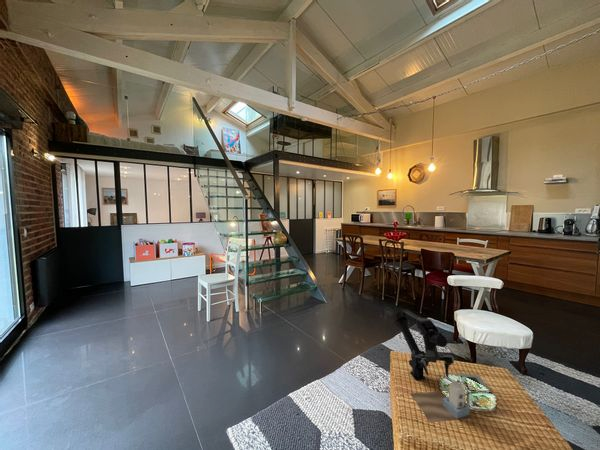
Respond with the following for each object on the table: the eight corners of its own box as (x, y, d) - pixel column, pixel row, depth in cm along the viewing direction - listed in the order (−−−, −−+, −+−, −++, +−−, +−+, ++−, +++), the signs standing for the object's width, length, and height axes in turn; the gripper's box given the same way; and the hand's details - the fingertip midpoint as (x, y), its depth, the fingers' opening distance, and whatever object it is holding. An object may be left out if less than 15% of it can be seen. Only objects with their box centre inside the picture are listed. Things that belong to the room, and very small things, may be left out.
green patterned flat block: (491, 396, 127) (491, 391, 127) (469, 393, 129) (470, 389, 129) (478, 378, 140) (478, 374, 140) (458, 376, 142) (458, 372, 142)
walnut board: (409, 394, 128) (409, 393, 128) (447, 391, 130) (447, 390, 130) (430, 423, 111) (430, 422, 111) (473, 419, 113) (473, 418, 113)
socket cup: (442, 405, 120) (442, 398, 120) (454, 401, 122) (455, 395, 122) (456, 418, 113) (457, 411, 112) (469, 414, 115) (470, 407, 114)
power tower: (448, 406, 119) (449, 383, 118) (455, 404, 120) (456, 381, 119) (456, 414, 114) (458, 390, 113) (463, 411, 116) (465, 388, 115)
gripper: (409, 346, 130) (415, 379, 125) (447, 347, 120) (456, 383, 115) (413, 342, 138) (419, 373, 133) (450, 343, 128) (458, 376, 123)
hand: (437, 376), depth 126 cm, fingers open, 9 cm apart
